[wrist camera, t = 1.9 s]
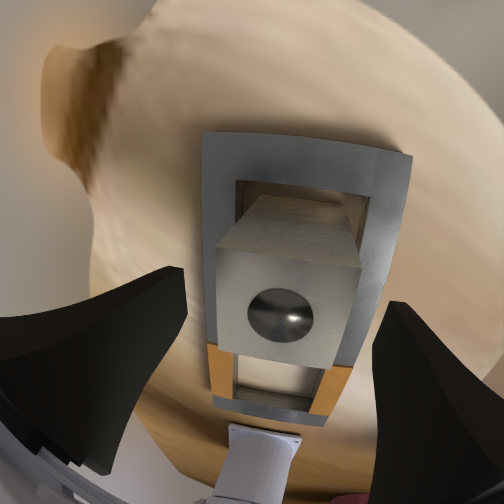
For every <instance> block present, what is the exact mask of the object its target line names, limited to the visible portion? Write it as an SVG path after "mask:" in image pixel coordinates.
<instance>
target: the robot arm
mask: <svg viewBox="0 0 504 504" xmlns="http://www.w3.org/2000/svg"><path fill="white" fill-rule="evenodd" d="M187 315H188V310H187V301H186V291H185V281H184V269H183V268H178V267H173V266H166V267H163V268H161V269H158V270H156V271H153V272H151V273H149V274H146V275H144V276H142V277H140V278H138V279H135V280H133V281H131V282H129V283H126V284H124V285H122V286H120V287H117V288H115V289H113V290H110V291H108V292H105V293H103V294H101V295H98V296H96V297H93V298H91V299H88V300H85V301H82V302H79V303H76V304H73V305H70V306H66V307H63V308H59V309H54V310H50V311H46V312H42V313H36V314H31V315H23V316H15V317H0V504H84V503H82V502H80V501H78V500H76V499H75V498H74V493H75V494H77V495H78V496H80V497H81V498H83V499H84V500H86V501H87V502H89V503H90V504H128V503H127V502H125V501H123V500H121V499H119V498H117V497H115V496H113V495H112V494H110V493H108V492H106V491H105V490H103V489H101V488H100V487H98V486H97V485H95V484H93V483H92V482H90V481H89V480H87V479H85V478H84V477H83V476H81V475H80V474H78V473H77V472H75V471H74V470H73V469H71V468H70V467H68V466H67V465H68V464H69V462H70V461H71V462H73V463H74V464H76V465H77V466H78V467H80V466H81V465H82V464H84V465H85V466H87V467H88V468H90V469H91V470H93V471H94V472H96V473H98V474H99V475H101V476H104V475H109V474H111V470H112V465H113V462H114V459H115V456H116V452H117V449H118V446H119V443H120V441H121V438H122V435H123V433H124V430H125V427H126V424H127V422H128V420H129V418H130V415H131V413H132V411H133V409H134V407H135V405H136V402H137V400H138V398H139V396H140V394H141V392H142V390H143V388H144V386H145V385H146V383H147V381H148V380H149V378H150V377H151V375H152V374H153V372H154V371H155V369H156V368H157V366H158V365H159V363H160V362H161V360H162V359H163V357H164V356H165V354H166V353H167V351H168V350H169V348H170V346H171V345H172V343H173V342H174V340H175V339H176V337H177V336H178V334H179V332H180V330H181V328H182V326H183V323H184V321H185V319H186V317H187ZM372 372H373V381H374V391H375V400H376V411H377V427H378V436H377V449H376V459H375V466H374V473H373V480H372V485H371V489H370V494H369V498H368V502H367V504H504V399H503V398H501V397H500V396H499V395H497V394H496V393H495V392H494V391H492V390H491V389H490V388H489V387H487V386H486V385H485V384H483V382H482V381H480V380H479V379H478V378H477V377H476V376H475V375H474V374H473V373H472V372H471V371H470V370H469V369H467V368H466V367H465V366H464V365H463V364H462V363H461V362H460V360H459V359H458V358H457V357H456V356H455V355H454V354H453V353H452V352H451V351H450V350H449V349H448V348H447V347H446V346H445V345H444V343H443V342H442V341H441V340H440V339H439V338H438V337H437V336H436V334H435V333H434V332H433V331H432V330H431V329H430V328H429V327H428V325H427V324H426V323H425V322H424V321H423V320H422V319H421V318H420V316H419V315H418V314H417V313H416V312H415V311H414V310H413V309H412V308H411V307H410V306H409V305H408V304H407V303H406V302H398V301H389V304H388V307H387V310H386V312H385V315H384V317H383V320H382V323H381V325H380V328H379V330H378V332H377V335H376V337H375V340H374V342H373V344H372ZM228 429H229V450H228V453H227V456H226V458H225V461H224V464H223V467H222V469H221V472H220V475H219V477H218V480H217V483H216V485H215V488H214V491H213V493H212V496H210V495H208V497H207V500H205V499H200V500H198V501H195V502H194V503H193V504H281V503H282V499H283V495H284V491H285V486H286V482H287V477H288V473H289V468H290V463H291V460H292V458H293V457H294V455H295V453H296V451H297V449H298V447H299V445H300V443H301V441H302V437H301V436H298V435H290V434H284V433H278V432H272V431H266V430H261V429H256V428H251V427H247V426H242V425H238V424H233V423H230V424H229V426H228ZM73 492H74V493H73Z"/></svg>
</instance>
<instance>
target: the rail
mask: <svg viewBox="0 0 504 504" xmlns="http://www.w3.org/2000/svg"><path fill="white" fill-rule="evenodd" d="M412 160H413V156H411V155H407V154H404V153H400V152H395V151H391V150H386V149H381V148H376V147H371V146H366V145H360V144H355V143H349V142H342V141H336V140H329V139H321V138H313V137H304V136H295V135H284V134H271V133H255V132H228V131H209V132H202V142H201V221H202V256H203V279H204V298H205V314H206V329H207V350H208V361H209V372H210V382H211V391H212V395H213V404H214V407H217V408H221V409H225V410H229V411H233V412H237V413H241V414H246V415H250V416H255V417H260V418H265V419H271V420H276V421H282V422H289V423H296V424H303V425H311V426H320V427H323V426H324V424H325V422H326V420H327V419H328V417H329V416H330V414H331V412H332V410H333V408H334V407H335V405H336V403H337V401H338V399H339V397H340V395H341V393H342V391H343V389H344V387H345V385H346V383H347V380H348V378H349V376H350V374H351V372H352V370H353V366H354V364H355V362H356V359H357V357H358V355H359V352H360V350H361V347H362V345H363V343H364V340H365V338H366V335H367V333H368V330H369V327H370V325H371V322H372V319H373V317H374V314H375V311H376V308H377V305H378V302H379V300H380V297H381V294H382V290H383V287H384V284H385V281H386V278H387V275H388V271H389V268H390V264H391V261H392V257H393V254H394V250H395V246H396V242H397V238H398V234H399V230H400V226H401V221H402V217H403V212H404V207H405V202H406V197H407V192H408V186H409V180H410V174H411V167H412ZM244 180H246V181H257V182H267V183H277V184H286V185H294V186H302V187H310V188H318V189H325V190H332V191H338V192H345V193H351V194H357V195H363V196H364V202H363V208H362V214H361V219H360V225H359V230H358V235H357V240H356V246H357V250H358V254H359V257H360V261H361V265H362V272H361V276H360V280H359V284H358V287H357V291H356V294H355V298H354V301H353V305H352V308H351V311H350V315H349V318H348V321H347V324H346V327H345V330H344V333H343V336H342V339H341V342H340V345H339V348H338V351H337V354H336V356H335V359H334V362H333V364H332V367H331V370H330V369H322V368H321V371H320V374H319V377H318V379H317V382H316V385H315V388H314V390H313V393H312V396H311V398H303V397H296V396H289V395H283V394H277V393H272V392H266V391H261V390H256V389H251V388H246V387H242V386H238V354H235V353H231V352H226V351H222V350H218V333H217V306H216V264H215V247H216V246H217V244H218V243H219V242H220V241H221V240H222V239H223V238H224V236H225V235H226V234H227V233H228V232H229V231H230V229H231V228H232V227H233V226H234V225H235V224H236V223H237V222H238V220H239V219H240V218H241V217H242V210H243V184H244Z"/></svg>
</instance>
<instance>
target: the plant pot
mask: <svg viewBox="0 0 504 504" xmlns="http://www.w3.org/2000/svg"><path fill="white" fill-rule="evenodd" d="M369 494H370V493H359V494H349V495H342V496H338V497H335V498H333V499H332V500H331V503H330V504H367V502H368V498H369Z"/></svg>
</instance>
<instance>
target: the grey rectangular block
mask: <svg viewBox="0 0 504 504" xmlns="http://www.w3.org/2000/svg"><path fill="white" fill-rule="evenodd" d="M215 264H216V306H217V333H218V350H222V351H226V352H231V353H235V354H240V355H244V356H249V357H254V358H259V359H265V360H270V361H276V362H281V363H287V364H294V365H300V366H307V367H314V368H322V369H330V370H331V367H332V364H333V362H334V359H335V356H336V354H337V351H338V348H339V345H340V342H341V339H342V336H343V333H344V330H345V327H346V324H347V321H348V318H349V315H350V311H351V308H352V305H353V301H354V298H355V294H356V291H357V287H358V284H359V280H360V276H361V272H362V265H361V261H360V257H359V254H358V250H357V246H356V243H355V239H354V236H353V232H352V229H351V226H350V222H349V219H348V216H347V213H346V210H345V207H344V205H339V204H332V203H325V202H318V201H311V200H304V199H296V198H288V197H279V196H271V195H261V196H260V197H259V198H258V199H257V200H256V201H255V202H254V204H253V205H252V206H251V207H250V208H249V209H248V210H247V211H246V212H245V214H244V215H243V216H242V217H241V218H240V219H239V220H238V222H237V223H236V224H235V225H234V226H233V227H232V228H231V229H230V231H229V232H228V233H227V234H226V235H225V236H224V238H223V239H222V240H221V241H220V242H219V243H218V244H217V246H216V247H215Z"/></svg>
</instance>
